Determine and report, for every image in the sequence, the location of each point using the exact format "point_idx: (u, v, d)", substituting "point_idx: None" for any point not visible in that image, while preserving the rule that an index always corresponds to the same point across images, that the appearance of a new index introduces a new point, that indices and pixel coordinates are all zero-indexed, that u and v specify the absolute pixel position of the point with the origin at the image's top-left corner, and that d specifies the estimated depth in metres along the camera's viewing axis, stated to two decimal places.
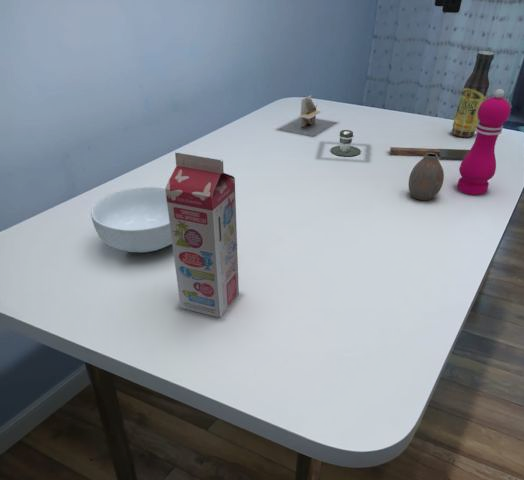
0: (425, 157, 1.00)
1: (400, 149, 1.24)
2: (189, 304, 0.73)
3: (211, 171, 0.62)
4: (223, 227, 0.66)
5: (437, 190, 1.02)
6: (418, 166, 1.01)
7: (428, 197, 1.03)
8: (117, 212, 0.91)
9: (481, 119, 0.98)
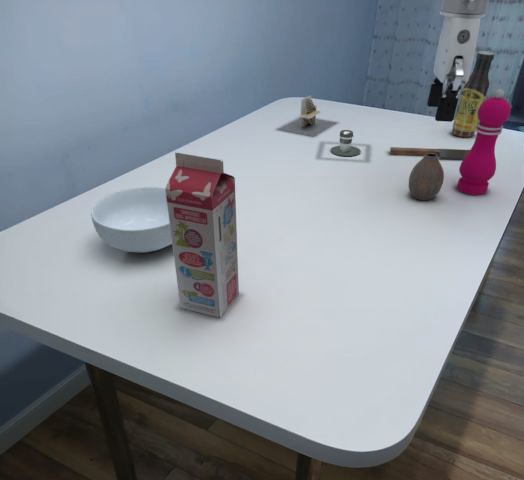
0: (425, 157, 1.00)
1: (400, 149, 1.24)
2: (189, 304, 0.73)
3: (211, 171, 0.62)
4: (223, 227, 0.66)
5: (437, 190, 1.02)
6: (418, 166, 1.01)
7: (428, 197, 1.03)
8: (117, 212, 0.91)
9: (481, 119, 0.98)
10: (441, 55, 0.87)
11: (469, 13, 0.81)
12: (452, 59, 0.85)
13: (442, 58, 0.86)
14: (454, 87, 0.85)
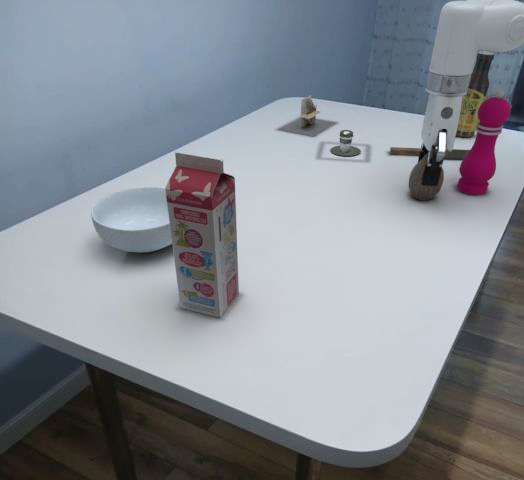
0: (425, 157, 1.00)
1: (400, 149, 1.24)
2: (189, 304, 0.73)
3: (211, 171, 0.62)
4: (223, 227, 0.66)
5: (437, 190, 1.02)
6: (418, 166, 1.01)
7: (428, 197, 1.03)
8: (117, 212, 0.91)
9: (481, 119, 0.98)
10: (427, 126, 0.94)
11: (451, 92, 0.89)
12: (437, 132, 0.92)
13: (428, 129, 0.94)
14: (437, 159, 0.94)
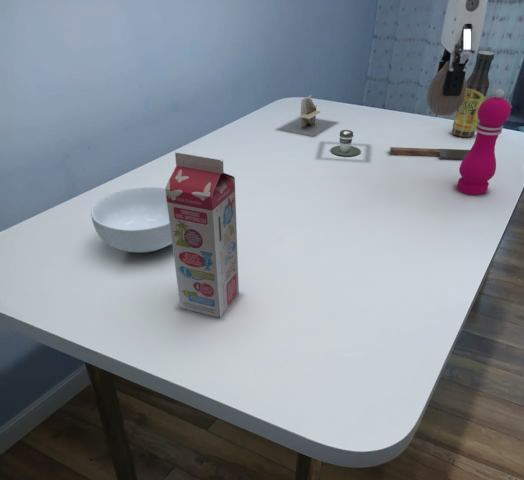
0: (446, 64, 0.90)
1: (400, 149, 1.24)
2: (189, 304, 0.73)
3: (211, 171, 0.62)
4: (223, 227, 0.66)
5: (459, 102, 0.92)
6: (438, 75, 0.91)
7: (449, 111, 0.93)
8: (117, 212, 0.91)
9: (481, 119, 0.98)
10: (449, 25, 0.85)
11: None
12: (461, 28, 0.83)
13: (450, 27, 0.85)
14: (461, 60, 0.84)
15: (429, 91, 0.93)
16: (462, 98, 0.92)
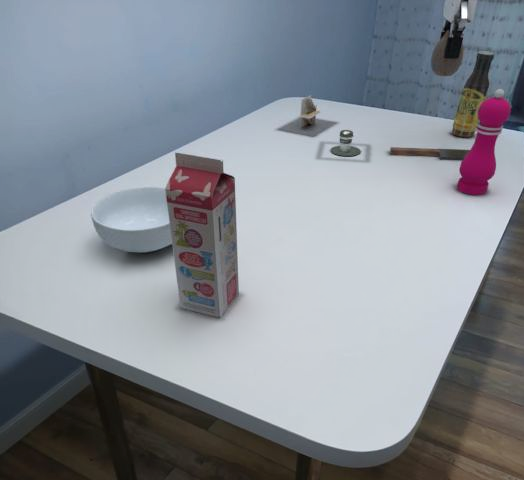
0: (447, 32, 1.10)
1: (400, 149, 1.24)
2: (189, 304, 0.73)
3: (211, 171, 0.62)
4: (223, 227, 0.66)
5: (457, 65, 1.12)
6: (440, 42, 1.11)
7: (449, 72, 1.13)
8: (117, 212, 0.91)
9: (481, 119, 0.98)
10: None
11: None
12: (459, 1, 1.03)
13: (451, 1, 1.05)
14: (459, 27, 1.04)
15: (433, 55, 1.13)
16: (460, 61, 1.12)
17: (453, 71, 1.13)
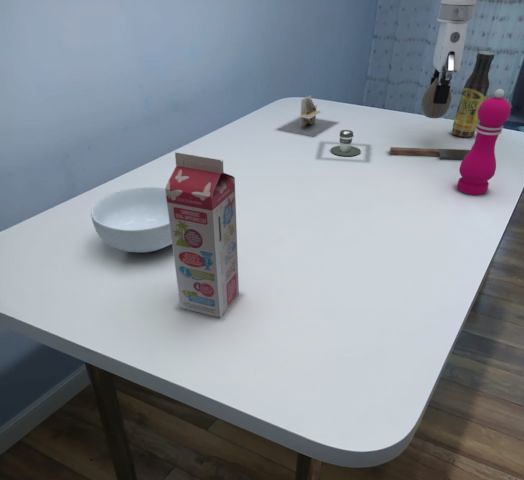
0: (436, 80, 1.20)
1: (400, 149, 1.24)
2: (189, 304, 0.73)
3: (211, 171, 0.62)
4: (223, 227, 0.66)
5: (445, 108, 1.22)
6: (430, 88, 1.21)
7: (438, 115, 1.23)
8: (117, 212, 0.91)
9: (481, 119, 0.98)
10: (438, 51, 1.15)
11: (459, 20, 1.09)
12: (447, 54, 1.13)
13: (439, 53, 1.15)
14: (447, 77, 1.14)
15: (423, 99, 1.23)
16: (448, 105, 1.22)
17: (441, 114, 1.23)
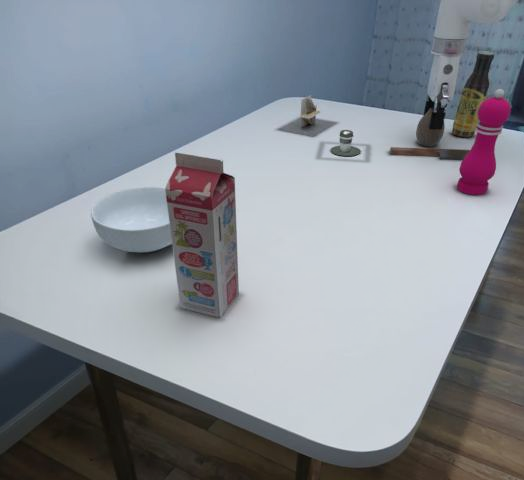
0: (429, 110, 1.25)
1: (400, 149, 1.24)
2: (189, 304, 0.73)
3: (211, 171, 0.62)
4: (223, 227, 0.66)
5: (439, 137, 1.27)
6: (424, 118, 1.26)
7: (432, 143, 1.28)
8: (117, 212, 0.91)
9: (481, 119, 0.98)
10: (432, 81, 1.19)
11: (451, 53, 1.14)
12: (440, 85, 1.17)
13: (433, 84, 1.19)
14: (442, 105, 1.17)
15: (417, 129, 1.28)
16: (441, 134, 1.27)
17: (435, 143, 1.28)
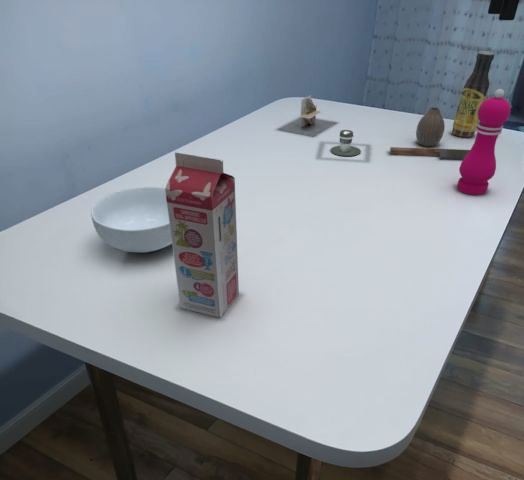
0: (429, 110, 1.25)
1: (400, 149, 1.24)
2: (189, 304, 0.73)
3: (211, 171, 0.62)
4: (223, 227, 0.66)
5: (439, 137, 1.27)
6: (424, 118, 1.26)
7: (432, 143, 1.28)
8: (117, 212, 0.91)
9: (481, 119, 0.98)
10: None
11: None
12: None
13: None
14: None
15: (417, 129, 1.28)
16: (441, 134, 1.27)
17: (435, 143, 1.28)
